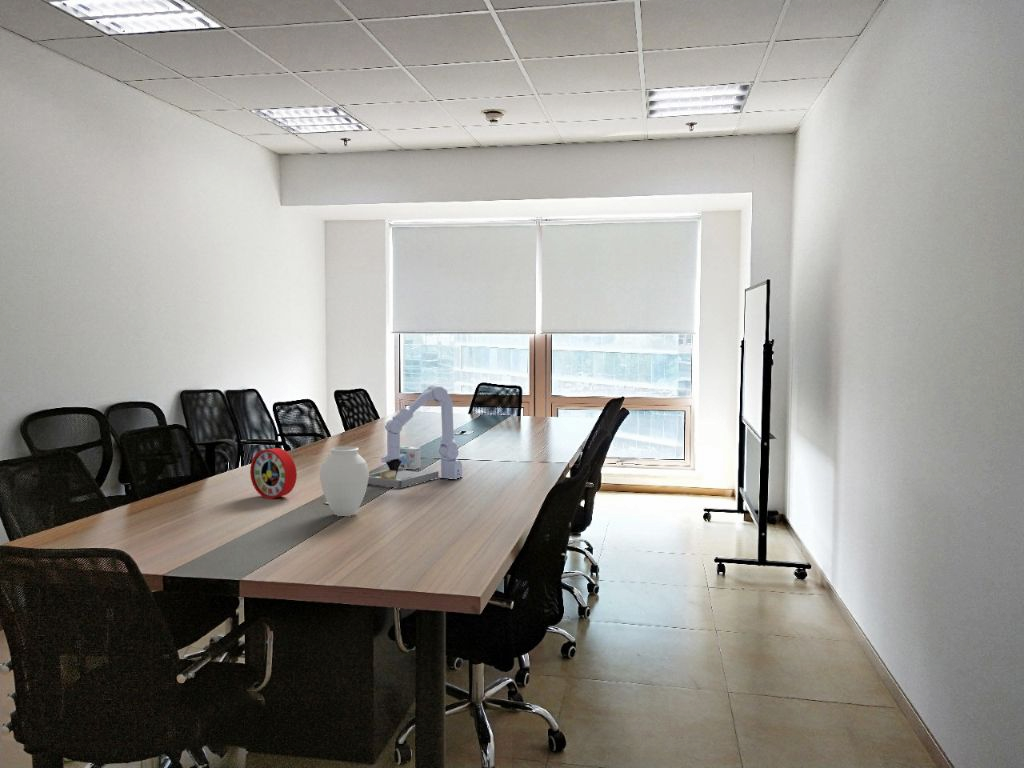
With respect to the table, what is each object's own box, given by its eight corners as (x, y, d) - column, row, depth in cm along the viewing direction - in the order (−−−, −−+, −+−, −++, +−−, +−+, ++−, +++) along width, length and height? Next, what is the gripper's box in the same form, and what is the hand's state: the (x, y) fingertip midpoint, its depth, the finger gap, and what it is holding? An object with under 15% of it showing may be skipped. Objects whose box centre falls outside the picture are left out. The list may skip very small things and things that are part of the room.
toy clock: (250, 496, 319) (249, 448, 318) (261, 493, 324) (260, 446, 323) (286, 501, 310) (285, 451, 308) (297, 498, 315) (296, 449, 313)
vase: (321, 521, 276) (320, 452, 275) (319, 510, 293) (319, 445, 292) (371, 518, 281) (370, 450, 279) (367, 507, 298) (366, 443, 296)
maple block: (396, 479, 346) (395, 470, 345) (388, 481, 341) (388, 472, 341) (387, 478, 348) (387, 469, 348) (380, 480, 344) (380, 471, 344)
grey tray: (438, 478, 359) (438, 471, 359) (400, 488, 335) (400, 480, 335) (401, 474, 370) (401, 466, 370) (361, 483, 346) (361, 475, 346)
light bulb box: (395, 469, 384) (395, 447, 383) (401, 466, 390) (401, 445, 390) (415, 470, 381) (415, 448, 380) (420, 468, 387) (420, 446, 387)
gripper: (397, 443, 355) (397, 472, 356) (376, 447, 343) (376, 477, 344) (409, 445, 352) (409, 474, 353) (388, 449, 339) (388, 479, 340)
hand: (393, 476), depth 348 cm, fingers closed
